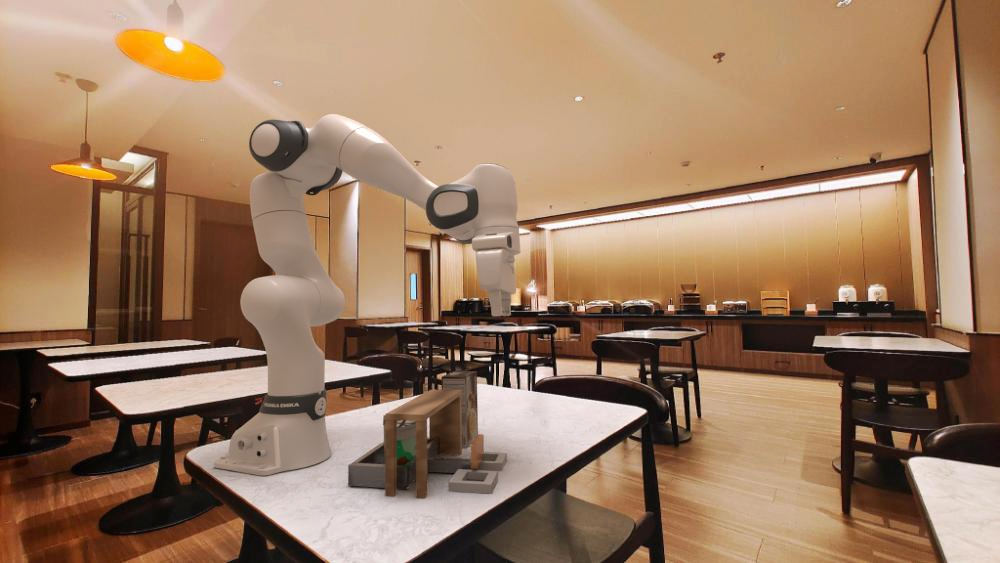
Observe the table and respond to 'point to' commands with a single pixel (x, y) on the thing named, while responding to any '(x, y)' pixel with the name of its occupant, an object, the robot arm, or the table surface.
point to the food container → (404, 440)
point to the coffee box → (465, 401)
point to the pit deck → (479, 475)
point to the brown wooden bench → (424, 433)
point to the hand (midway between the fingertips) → (501, 316)
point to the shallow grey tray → (410, 465)
